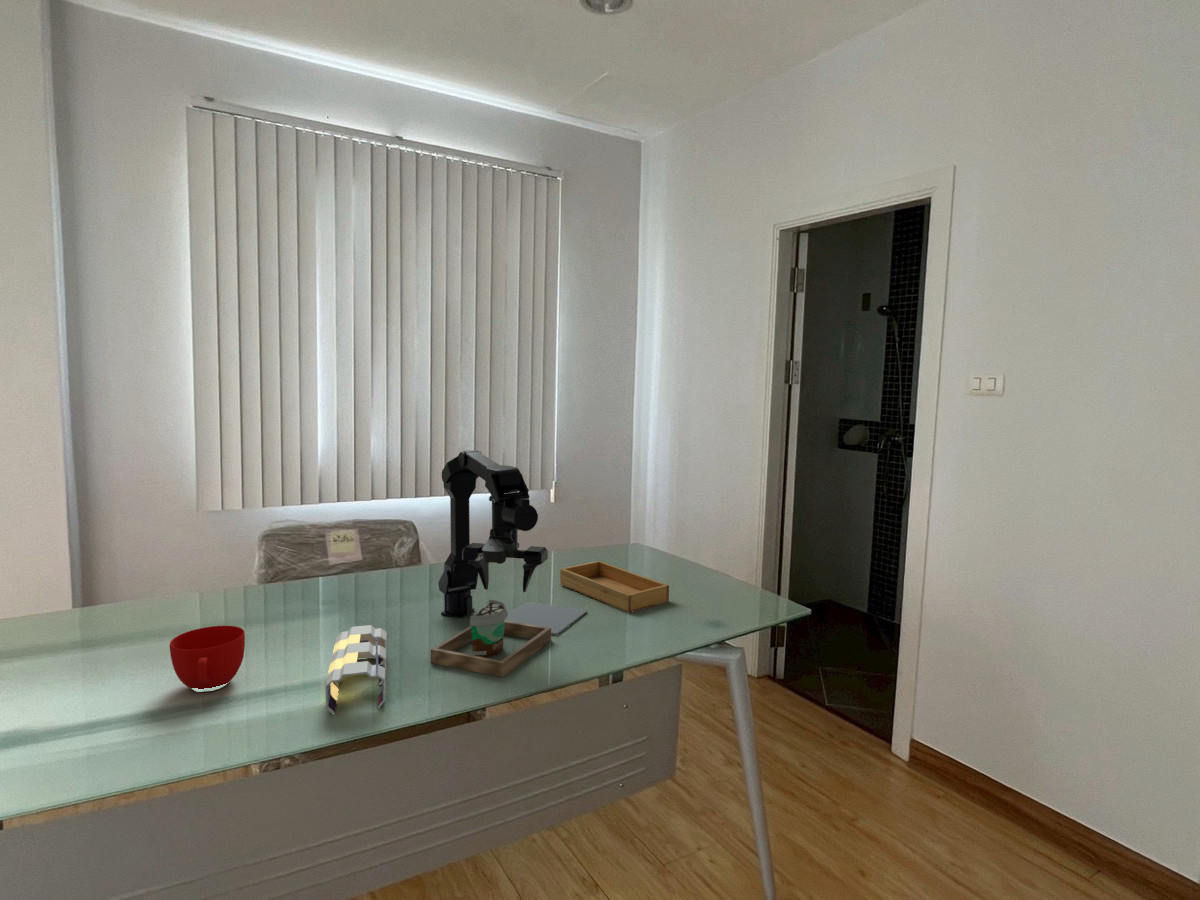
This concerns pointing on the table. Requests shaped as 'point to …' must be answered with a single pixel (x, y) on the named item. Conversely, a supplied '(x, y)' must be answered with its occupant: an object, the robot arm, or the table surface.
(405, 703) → the table surface
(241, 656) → the ceramic cup
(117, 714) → the table surface
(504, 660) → the walnut frame
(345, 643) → the jagged striped arch
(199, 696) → the table surface
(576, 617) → the slate mat
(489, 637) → the food container
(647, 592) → the tray
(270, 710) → the table surface
